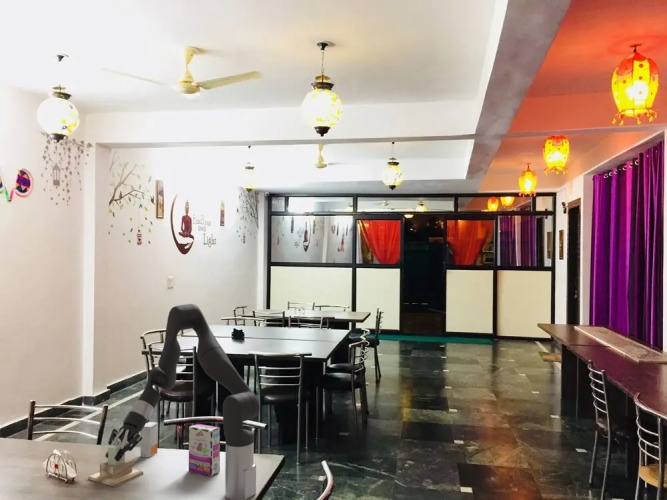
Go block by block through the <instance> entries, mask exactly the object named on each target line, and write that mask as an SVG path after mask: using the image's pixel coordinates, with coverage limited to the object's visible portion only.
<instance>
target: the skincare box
mask: <svg viewBox="0 0 667 500" xmlns="http://www.w3.org/2000/svg"><path fill="white" fill-rule="evenodd" d="M158 432H159V422H152V421H147V423H146V424H145V426H144V428H143V429H142V431H140V436H141V437H142V440H141V441H140V450H139V451H140V452H139V453H140V457H142V458H150V457H152V456H154V455H155V454H156V453H158V442H159V441H158V440H159V439H158V438H159V437H158V436H159V433H158Z"/></svg>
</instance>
